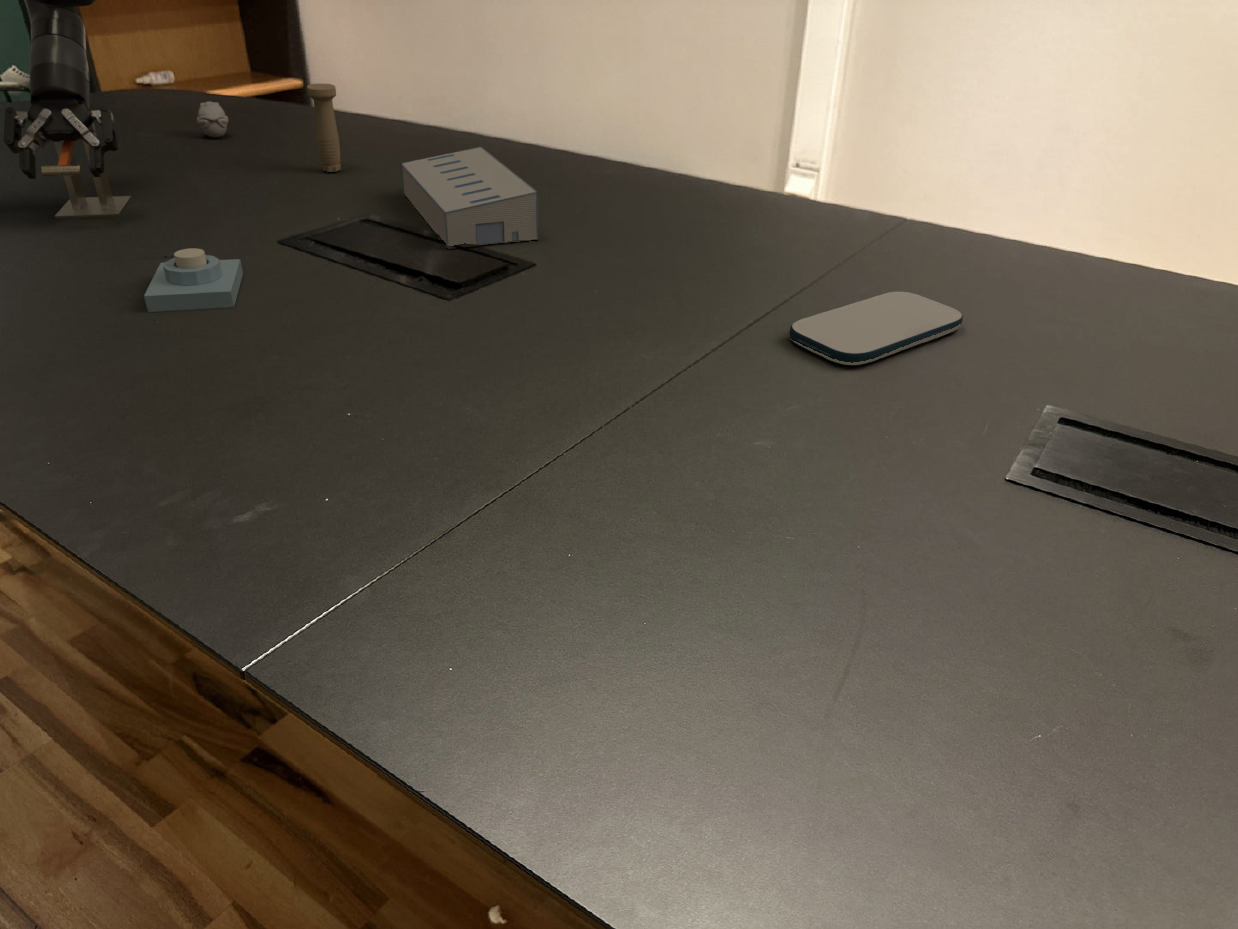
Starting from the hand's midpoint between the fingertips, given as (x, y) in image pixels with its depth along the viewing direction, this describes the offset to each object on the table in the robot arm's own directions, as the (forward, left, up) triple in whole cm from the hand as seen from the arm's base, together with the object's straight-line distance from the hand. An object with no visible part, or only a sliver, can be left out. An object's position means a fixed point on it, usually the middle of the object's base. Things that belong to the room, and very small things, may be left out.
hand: (63, 175), depth 130 cm
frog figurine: (+12, +64, -9) cm, 65 cm away
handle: (+36, +33, -9) cm, 49 cm away
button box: (+20, -27, -9) cm, 35 cm away
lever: (0, +6, +1) cm, 7 cm away
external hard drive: (+103, -55, -9) cm, 117 cm away
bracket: (0, +11, -9) cm, 14 cm away
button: (+20, -27, -5) cm, 34 cm away
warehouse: (+58, +1, -9) cm, 59 cm away
